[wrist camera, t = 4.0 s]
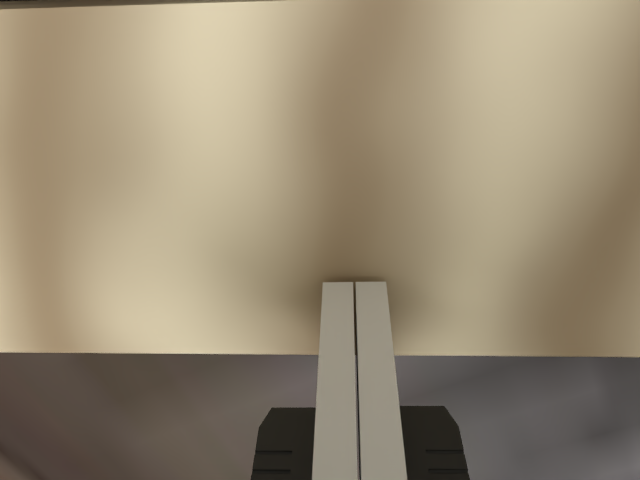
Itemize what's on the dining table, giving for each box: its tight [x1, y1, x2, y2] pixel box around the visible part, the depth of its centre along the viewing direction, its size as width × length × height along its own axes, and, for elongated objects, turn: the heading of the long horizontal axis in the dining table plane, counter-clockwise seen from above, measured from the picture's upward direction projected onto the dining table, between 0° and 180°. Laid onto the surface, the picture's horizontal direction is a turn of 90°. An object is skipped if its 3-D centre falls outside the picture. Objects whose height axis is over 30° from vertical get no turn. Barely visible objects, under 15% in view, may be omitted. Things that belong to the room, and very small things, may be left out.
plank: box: [0, 0, 640, 357], centre depth 14 cm, size 26×9×2 cm, turn 92°
